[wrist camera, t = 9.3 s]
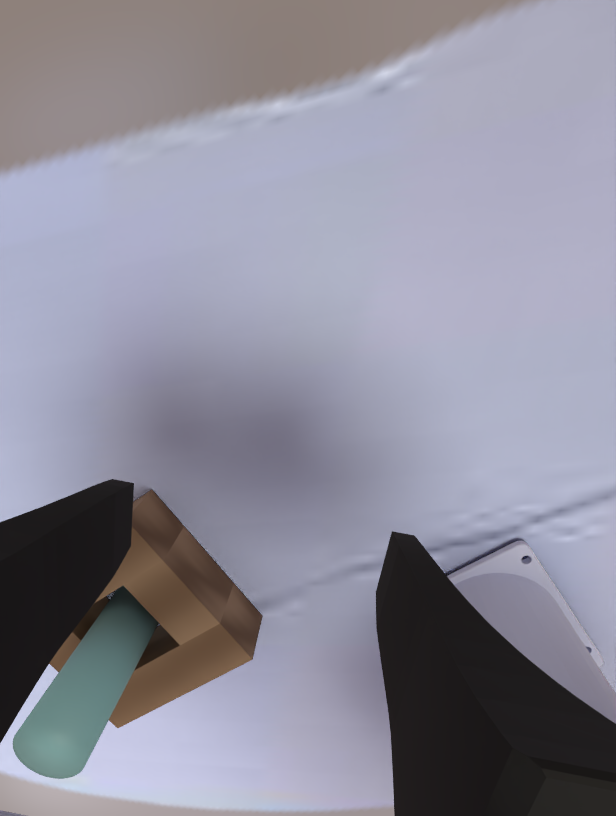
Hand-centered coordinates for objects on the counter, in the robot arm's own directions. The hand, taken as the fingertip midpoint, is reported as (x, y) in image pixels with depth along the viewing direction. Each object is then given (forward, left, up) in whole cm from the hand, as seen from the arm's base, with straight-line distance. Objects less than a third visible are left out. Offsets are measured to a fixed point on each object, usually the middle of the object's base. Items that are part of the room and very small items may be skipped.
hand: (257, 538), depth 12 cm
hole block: (-4, +14, -10) cm, 18 cm away
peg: (-4, +14, -10) cm, 18 cm away
